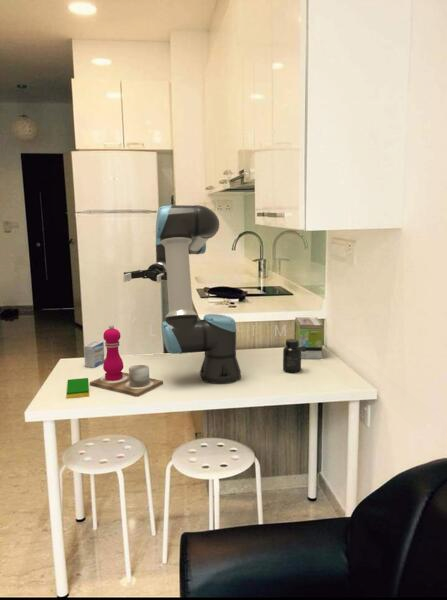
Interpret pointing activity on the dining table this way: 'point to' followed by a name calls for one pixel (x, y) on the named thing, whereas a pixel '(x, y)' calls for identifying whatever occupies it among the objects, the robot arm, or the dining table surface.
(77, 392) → the dish sponge
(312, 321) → the tea box
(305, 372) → the dining table surface
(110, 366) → the pepper mill
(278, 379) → the dining table surface
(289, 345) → the supplement bottle
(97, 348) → the medicine box
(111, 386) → the board
